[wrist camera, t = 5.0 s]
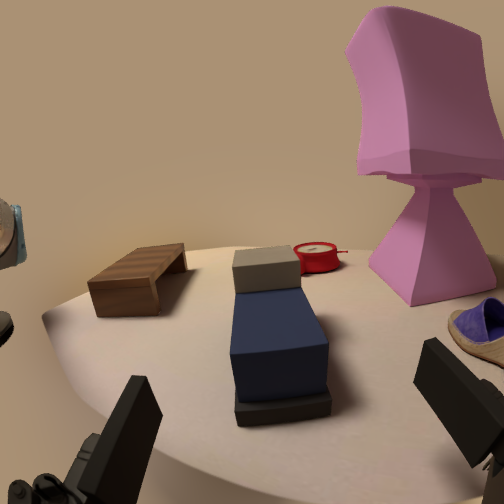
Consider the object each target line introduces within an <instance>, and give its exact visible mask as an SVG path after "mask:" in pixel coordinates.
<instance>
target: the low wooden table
mask: <svg viewBox="0 0 504 504" xmlns="http://www.w3.org/2000/svg"><path fill="white" fill-rule="evenodd" d="M187 270H188V268H187V262H186V256H185V250H184V243H178V244H170V245H161V246H152V247H143V248H137V249H136V250H134V251H132V252H131V253H129V254H128V255H126V256H125V257H123V258H122V259H120V260H119V261H117V262H116V263H114V264H113V265H111V266H109V267H108V268H107V269H105V270H103V271H102V272H101V273H99V274H98V275H96V276H95V277H94V278H92V279H90V280H89V281H88V282H87V284H88V287H89V291H90V295H91V298H92V302H93V305H94V308H95V312H96V315H97V317H121V316H157V315H158V314H159V313H160V311H161V307H160V303H159V299H158V294H157V290H156V285H155V281H156V280H157V279H158V277H159V276H160V275H161V274H170V273H181V272H186V271H187Z"/></svg>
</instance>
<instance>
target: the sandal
mask: <svg viewBox="0 0 504 504" xmlns="http://www.w3.org/2000/svg"><path fill="white" fill-rule="evenodd" d="M448 329H449V332H450V334H451V336H452V338H453V339H454V341H455V342H456V343H457V344H458V345H459V346H460V348H461V349H463V350H464V351H466V352H468V353H470V354H472V355H475V356H477V357H480V358H483V359H486V360H488V361H491V362H494V363H497V364H499V365H501V366H502V367H504V304H503V303H502V302H501V301H499V300H498V299H496V298H494V297H488V298H486V299H485V300H484V301H483V302H482V303H481V304H480V305H478V306H477V307H475V308H473V309H469V310H457V311H454V312H452V313H451V315H450V317H449V320H448Z"/></svg>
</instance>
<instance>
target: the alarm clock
mask: <svg viewBox="0 0 504 504" xmlns="http://www.w3.org/2000/svg"><path fill="white" fill-rule="evenodd" d="M293 251H294V252H295V254H296V255H297V256H298V258H299V259H300V269H301V274H303V273H304V272H312V273H315V272H325V271H329V270H333V269H335V268H337V267H338V266H339V265H340V261H339V259H338V257H337V253H342V252H346V253H348V251H337V248H336V246H335V245H334V244H331V243H326V242H311V243H304V244H300V245H297V246H295V247H294V248H293Z"/></svg>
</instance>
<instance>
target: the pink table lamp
mask: <svg viewBox="0 0 504 504" xmlns="http://www.w3.org/2000/svg"><path fill="white" fill-rule="evenodd" d="M345 54H346V56H347V59H348V61H349V63H350V66H351V68H352V70H353V73H354V75H355V78H356V81H357V84H358V88H359V92H360V97H361V102H362V131H361V138H360V145H359V151H358V156H357V170H358V175H387V179H390V180H393V181H397V182H401V183H404V184H408V185H411V186H414V187H415V193H414V195H413V196H412V198H411V199H410V201H409V203H408V204H407V206H406V207H405V209H404V210H403V212H402V213H401V215H400V216H399V217H398V219H397V220H396V222H395V223H394V225H393V226H392V228H391V229H390V230H389V232H388V233H387V235H386V236H385V238H384V239H383V240H382V242H381V243H380V244H379V246H378V247H377V248H376V250H375V251H374V252H373V254H372V255H371V256H370V258H369V267H370V268H371V269H372V270H373V271H374V272H375V273H377V274H378V275H379V276H380V277H381V278H382V279H383V280H384V281H385V282H386V283H387V284H388V285H389V286H390V287H391V288H392V289H393V290H394V291H395V292H396V293H397V294H398V295H399V296H400V297H401V298H402V299H403V300H404V301H405V302H406V303H407V304H408V305H409V306H410V307H411V306H417V305H422V304H427V303H433V302H438V301H443V300H447V299H452V298H457V297H461V296H466V295H470V294H474V293H479V292H483V291H487V290H491V289H494V288H495V287H496V281H497V278H496V276H495V274H494V271H493V269H492V267H491V264H490V262H489V260H488V258H487V255H486V253H485V251H484V249H483V247H482V245H481V243H480V241H479V239H478V237H477V235H476V233H475V231H474V229H473V227H472V226H471V224H470V222H469V220H468V218H467V217H466V215H465V213H464V211H463V210H462V208H461V207H460V205H459V203H458V201H457V200H456V198H455V197H454V195H453V188H457V187H462V186H467V185H472V184H476V183H481V182H482V179H481V178H487V179H497V180H504V139H503V136H502V134H501V131H500V128H499V125H498V122H497V119H496V116H495V113H494V110H493V106H492V103H491V99H490V96H489V91H488V85H487V81H486V74H485V68H484V60H483V51H482V42H481V37H480V36H479V35H478V34H476V33H474V32H471V31H469V30H467V29H464V28H462V27H460V26H457V25H455V24H452V23H450V22H447V21H444V20H442V19H439V18H436V17H433V16H430V15H427V14H423V13H420V12H417V11H413V10H410V9H406V8H401V7H395V6H382V7H378V8H374V9H372V10H371V11H369V12H368V13H367V15H366V16H365V17H364V19H363V20H362V22H361V24H360V25H359V27H358V29H357V30H356V32H355V34H354V36H353V37H352V39H351V41H350V42H349V44H348V46H347V48H346V50H345Z"/></svg>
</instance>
